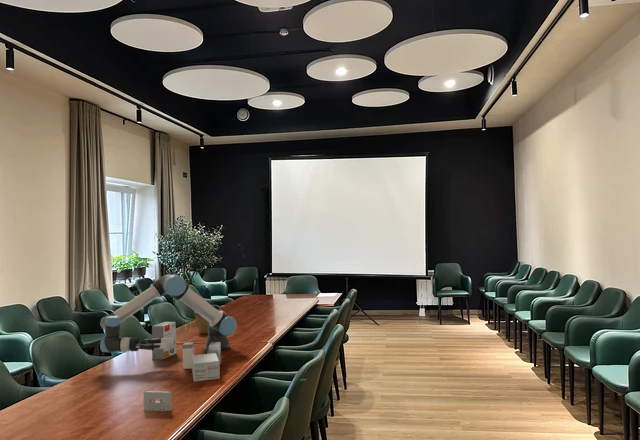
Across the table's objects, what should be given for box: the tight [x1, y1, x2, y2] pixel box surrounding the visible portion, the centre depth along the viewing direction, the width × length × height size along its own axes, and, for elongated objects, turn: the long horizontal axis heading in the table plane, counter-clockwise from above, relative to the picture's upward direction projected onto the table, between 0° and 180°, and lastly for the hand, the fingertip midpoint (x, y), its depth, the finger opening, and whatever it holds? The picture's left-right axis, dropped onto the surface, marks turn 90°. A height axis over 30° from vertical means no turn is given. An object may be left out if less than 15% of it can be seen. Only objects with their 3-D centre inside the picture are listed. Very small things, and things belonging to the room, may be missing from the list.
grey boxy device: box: [208, 342, 222, 367], centre depth 266 cm, size 9×10×12 cm
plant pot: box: [193, 311, 208, 334], centre depth 361 cm, size 15×15×16 cm
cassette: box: [143, 390, 172, 412], centre depth 200 cm, size 12×2×8 cm, turn 81°
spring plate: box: [202, 347, 208, 354], centre depth 266 cm, size 1×8×8 cm, turn 4°
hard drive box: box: [151, 321, 177, 361], centre depth 291 cm, size 16×8×20 cm, turn 168°
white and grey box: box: [182, 341, 195, 370], centre depth 265 cm, size 9×6×13 cm, turn 94°
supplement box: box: [191, 353, 221, 382], centre depth 248 cm, size 17×13×9 cm
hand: (169, 343), depth 265 cm, fingers open, 13 cm apart
